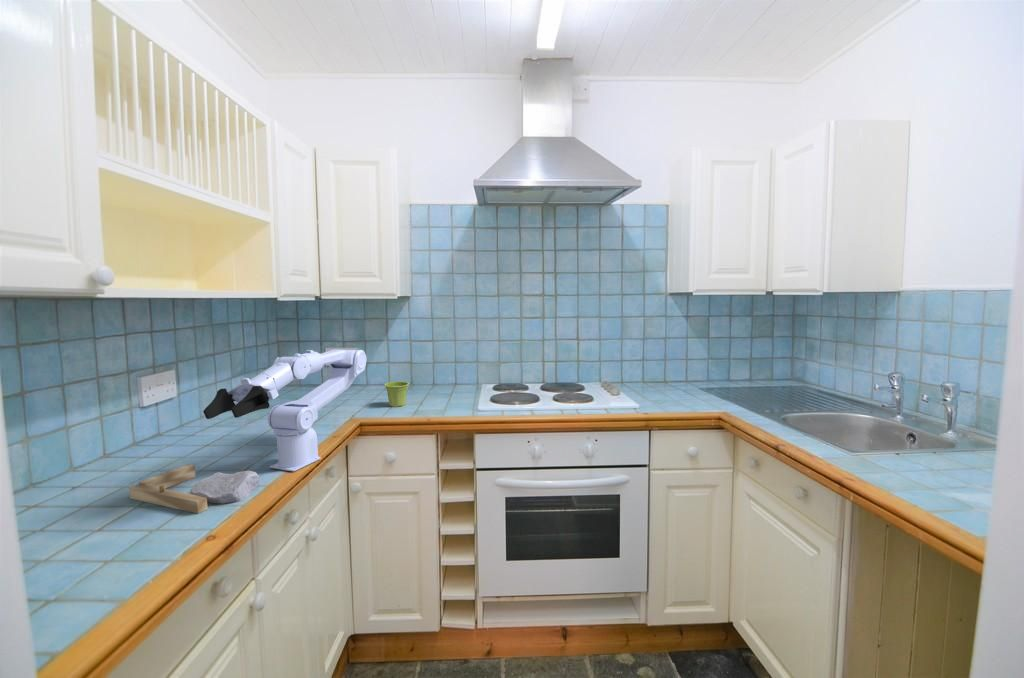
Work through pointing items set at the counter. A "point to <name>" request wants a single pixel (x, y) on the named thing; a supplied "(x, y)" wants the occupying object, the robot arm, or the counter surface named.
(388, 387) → the plant pot
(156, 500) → the fence
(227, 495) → the stone block
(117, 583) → the counter surface
